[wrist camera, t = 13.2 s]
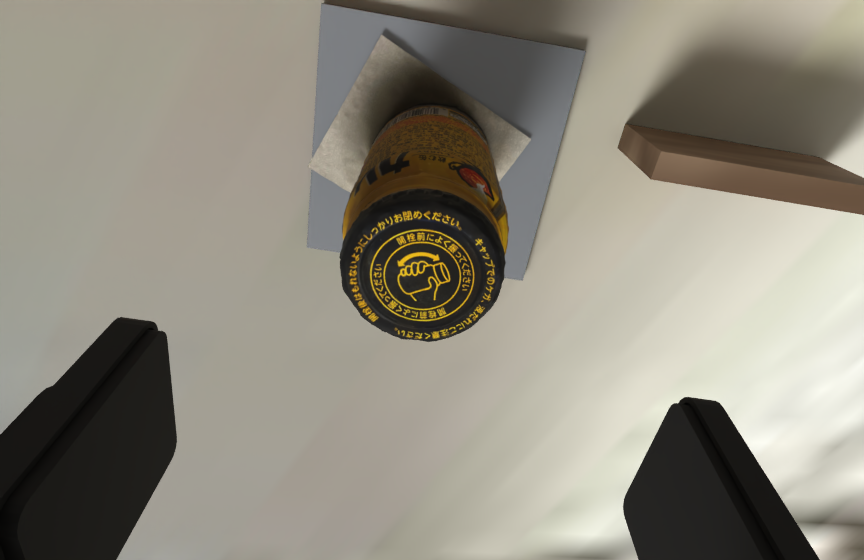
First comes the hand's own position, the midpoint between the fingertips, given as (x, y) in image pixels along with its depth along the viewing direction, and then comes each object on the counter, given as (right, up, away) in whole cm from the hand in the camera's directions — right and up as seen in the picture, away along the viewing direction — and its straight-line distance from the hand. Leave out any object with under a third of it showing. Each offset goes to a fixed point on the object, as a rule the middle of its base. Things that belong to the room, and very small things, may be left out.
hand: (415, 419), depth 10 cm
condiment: (0, +9, +17) cm, 19 cm away
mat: (0, +9, +18) cm, 20 cm away
